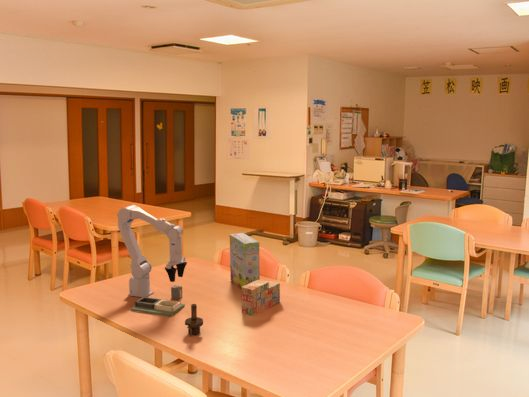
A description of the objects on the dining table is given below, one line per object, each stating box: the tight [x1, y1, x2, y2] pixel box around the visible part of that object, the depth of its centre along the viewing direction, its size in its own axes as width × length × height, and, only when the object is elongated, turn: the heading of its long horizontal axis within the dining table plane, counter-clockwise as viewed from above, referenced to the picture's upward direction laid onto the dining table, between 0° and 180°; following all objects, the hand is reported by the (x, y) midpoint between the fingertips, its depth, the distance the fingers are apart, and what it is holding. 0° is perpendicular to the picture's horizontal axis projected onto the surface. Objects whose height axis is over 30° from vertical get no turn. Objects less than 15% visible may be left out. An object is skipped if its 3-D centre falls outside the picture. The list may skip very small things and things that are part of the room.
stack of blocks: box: [240, 279, 281, 316], centre depth 229 cm, size 21×6×12 cm, turn 144°
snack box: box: [228, 232, 261, 290], centre depth 257 cm, size 22×9×26 cm, turn 25°
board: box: [130, 296, 186, 317], centre depth 228 cm, size 20×13×3 cm, turn 70°
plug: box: [170, 284, 183, 300], centre depth 241 cm, size 4×3×6 cm
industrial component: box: [184, 303, 204, 337], centre depth 202 cm, size 9×7×12 cm
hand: (176, 279), depth 240 cm, fingers open, 7 cm apart
